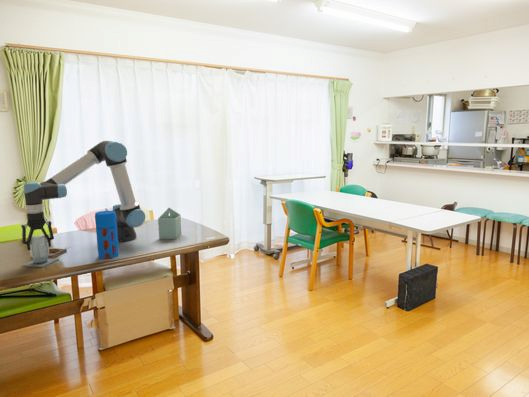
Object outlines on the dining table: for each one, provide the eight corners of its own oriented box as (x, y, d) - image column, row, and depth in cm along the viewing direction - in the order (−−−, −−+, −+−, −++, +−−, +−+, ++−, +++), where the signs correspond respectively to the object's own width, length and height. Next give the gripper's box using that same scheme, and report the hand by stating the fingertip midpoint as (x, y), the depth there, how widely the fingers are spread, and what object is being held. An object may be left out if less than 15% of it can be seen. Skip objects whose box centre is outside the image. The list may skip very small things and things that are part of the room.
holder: (66, 252, 218) (66, 248, 218) (52, 258, 207) (51, 255, 206) (48, 251, 220) (48, 247, 220) (32, 257, 209) (32, 254, 209)
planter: (165, 241, 240) (163, 211, 236) (159, 238, 245) (157, 209, 242) (187, 236, 251) (186, 207, 247) (181, 234, 256) (179, 205, 253)
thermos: (102, 253, 217) (98, 210, 212) (121, 252, 218) (118, 210, 213) (95, 259, 206) (91, 214, 202) (115, 258, 207) (112, 214, 203)
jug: (31, 259, 202) (28, 236, 199) (46, 256, 206) (43, 234, 204) (36, 266, 191) (33, 241, 189) (51, 263, 196) (48, 239, 194)
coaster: (58, 260, 205) (58, 258, 205) (42, 267, 193) (42, 266, 193) (39, 258, 207) (39, 257, 207) (22, 266, 195) (21, 265, 195)
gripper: (13, 216, 186) (19, 260, 190) (57, 210, 199) (62, 252, 203) (11, 213, 192) (16, 256, 196) (54, 208, 205) (59, 248, 209)
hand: (40, 254), depth 199 cm, fingers closed on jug, 7 cm apart
